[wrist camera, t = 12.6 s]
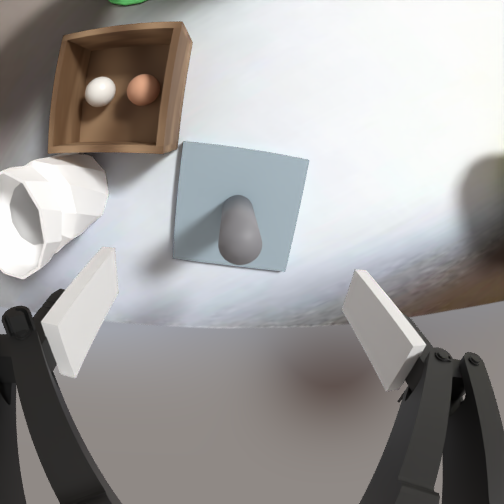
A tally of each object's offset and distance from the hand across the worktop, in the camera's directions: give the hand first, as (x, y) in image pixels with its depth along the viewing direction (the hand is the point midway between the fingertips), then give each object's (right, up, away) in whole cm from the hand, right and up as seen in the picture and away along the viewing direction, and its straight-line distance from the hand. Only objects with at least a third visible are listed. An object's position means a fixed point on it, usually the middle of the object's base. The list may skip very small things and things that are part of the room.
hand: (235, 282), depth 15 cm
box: (-11, +17, +8) cm, 22 cm away
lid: (-1, +6, +14) cm, 15 cm away
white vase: (-18, +8, +11) cm, 23 cm away
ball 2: (-9, +16, +7) cm, 20 cm away
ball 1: (-13, +17, +7) cm, 22 cm away
